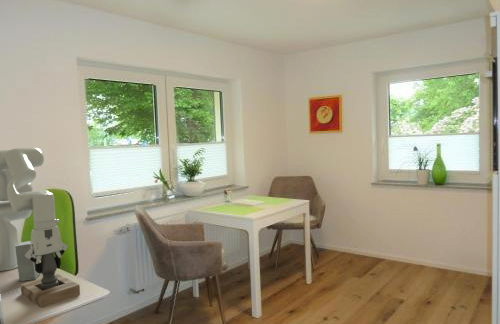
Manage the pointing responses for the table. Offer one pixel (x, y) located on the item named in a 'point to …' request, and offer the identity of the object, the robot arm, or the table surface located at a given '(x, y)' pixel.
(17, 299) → the table surface
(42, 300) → the holder board
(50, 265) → the candle holder
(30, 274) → the skincare box
